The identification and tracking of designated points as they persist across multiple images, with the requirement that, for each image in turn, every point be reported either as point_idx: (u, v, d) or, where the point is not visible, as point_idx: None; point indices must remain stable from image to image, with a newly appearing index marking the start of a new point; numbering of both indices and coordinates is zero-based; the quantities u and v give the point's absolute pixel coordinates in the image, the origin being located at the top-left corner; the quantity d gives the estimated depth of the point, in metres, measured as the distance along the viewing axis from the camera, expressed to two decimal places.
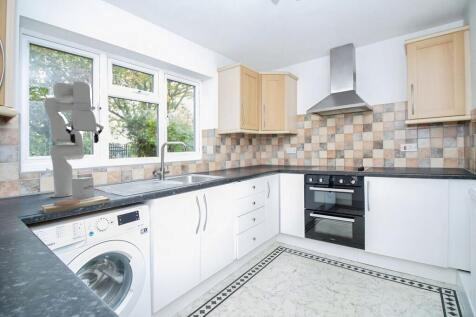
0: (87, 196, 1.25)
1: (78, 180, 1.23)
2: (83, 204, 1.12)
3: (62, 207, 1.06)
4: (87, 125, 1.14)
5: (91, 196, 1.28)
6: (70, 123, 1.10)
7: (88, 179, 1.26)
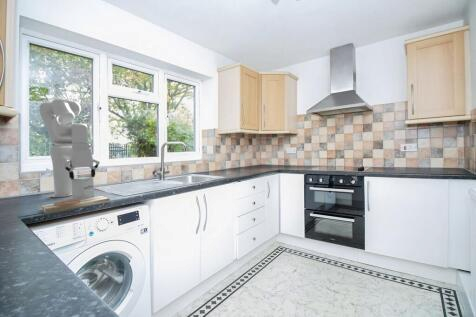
0: (87, 196, 1.25)
1: (78, 180, 1.23)
2: (83, 204, 1.12)
3: (62, 207, 1.06)
4: (85, 162, 1.25)
5: (91, 196, 1.28)
6: (69, 162, 1.21)
7: (88, 179, 1.26)
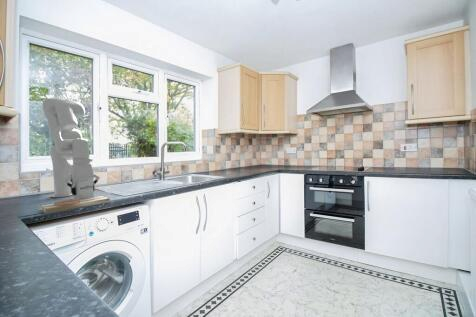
0: (84, 196, 1.24)
1: None
2: (83, 204, 1.12)
3: (62, 207, 1.06)
4: (85, 177, 1.26)
5: (90, 196, 1.27)
6: (70, 177, 1.22)
7: (86, 179, 1.25)
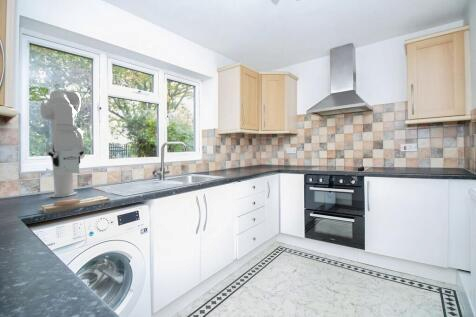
0: (68, 168, 1.10)
1: None
2: (83, 204, 1.12)
3: (62, 207, 1.06)
4: (69, 147, 1.12)
5: (74, 169, 1.13)
6: (51, 146, 1.08)
7: (70, 149, 1.11)
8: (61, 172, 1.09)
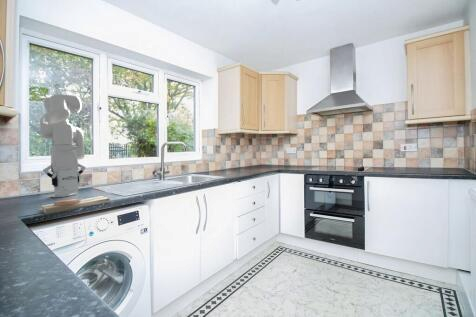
0: (67, 188, 1.09)
1: None
2: (83, 204, 1.12)
3: (62, 207, 1.06)
4: (68, 166, 1.11)
5: (73, 188, 1.11)
6: (50, 166, 1.07)
7: (69, 169, 1.10)
8: (60, 193, 1.07)
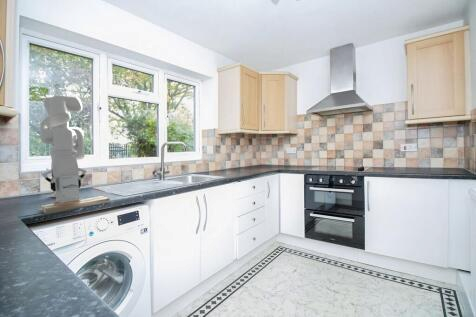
0: (67, 197, 1.09)
1: (58, 178, 1.08)
2: (83, 204, 1.12)
3: (62, 207, 1.06)
4: (68, 171, 1.11)
5: (74, 197, 1.12)
6: (50, 171, 1.07)
7: (70, 177, 1.10)
8: (61, 201, 1.08)
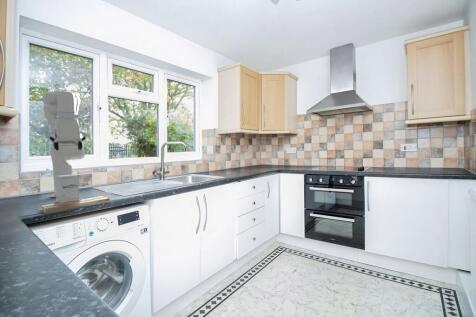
0: (67, 197, 1.09)
1: (58, 178, 1.08)
2: (83, 204, 1.12)
3: (62, 207, 1.06)
4: (71, 133, 1.18)
5: (74, 197, 1.12)
6: (54, 131, 1.14)
7: (70, 177, 1.10)
8: (61, 201, 1.08)
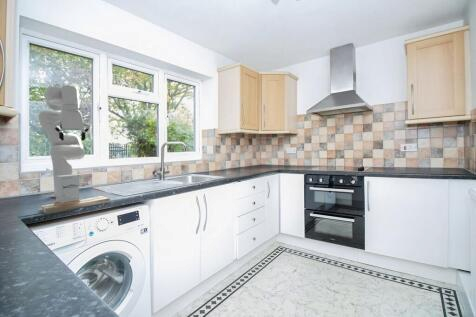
0: (67, 197, 1.09)
1: (58, 178, 1.08)
2: (83, 204, 1.12)
3: (62, 207, 1.06)
4: (75, 124, 1.26)
5: (74, 197, 1.12)
6: (59, 122, 1.22)
7: (70, 177, 1.10)
8: (61, 201, 1.08)
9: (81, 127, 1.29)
